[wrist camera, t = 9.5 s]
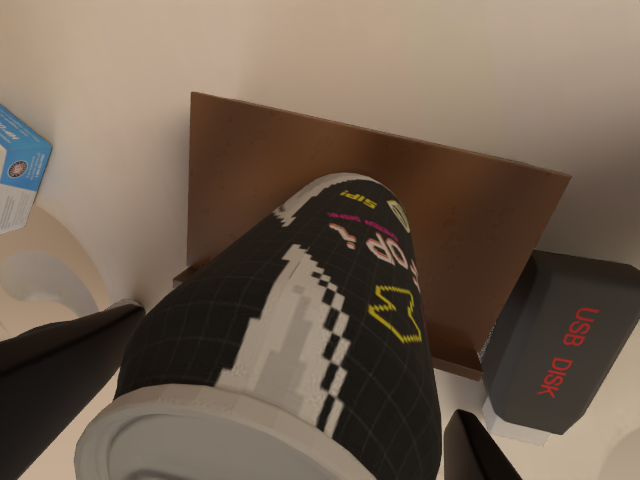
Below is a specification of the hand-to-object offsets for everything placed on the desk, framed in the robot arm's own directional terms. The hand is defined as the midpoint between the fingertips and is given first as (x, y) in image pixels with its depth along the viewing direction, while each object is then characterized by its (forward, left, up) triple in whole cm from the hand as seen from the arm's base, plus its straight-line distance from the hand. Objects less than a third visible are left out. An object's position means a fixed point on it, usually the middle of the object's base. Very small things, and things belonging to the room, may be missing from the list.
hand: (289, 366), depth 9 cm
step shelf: (0, -1, -12) cm, 12 cm away
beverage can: (0, -2, -8) cm, 8 cm away
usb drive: (-13, +4, -12) cm, 18 cm away
